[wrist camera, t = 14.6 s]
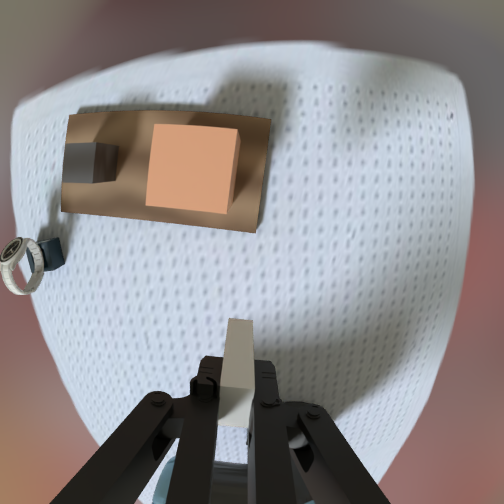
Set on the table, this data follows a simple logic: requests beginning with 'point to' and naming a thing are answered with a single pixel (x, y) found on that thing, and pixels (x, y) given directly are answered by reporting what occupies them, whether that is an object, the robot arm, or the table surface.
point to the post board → (137, 166)
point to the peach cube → (193, 167)
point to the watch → (30, 261)
